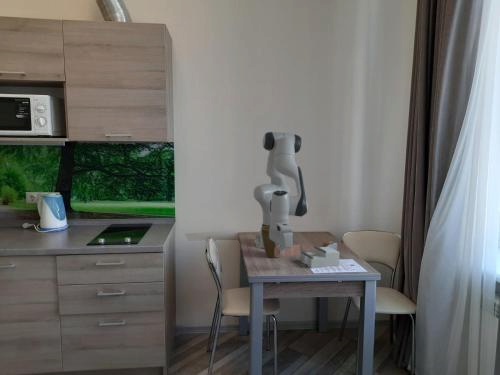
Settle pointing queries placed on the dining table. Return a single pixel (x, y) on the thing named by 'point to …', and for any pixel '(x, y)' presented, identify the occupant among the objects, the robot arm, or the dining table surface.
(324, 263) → the dispenser
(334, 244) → the tin
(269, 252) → the plant pot
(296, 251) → the brown block
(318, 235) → the dining table surface
